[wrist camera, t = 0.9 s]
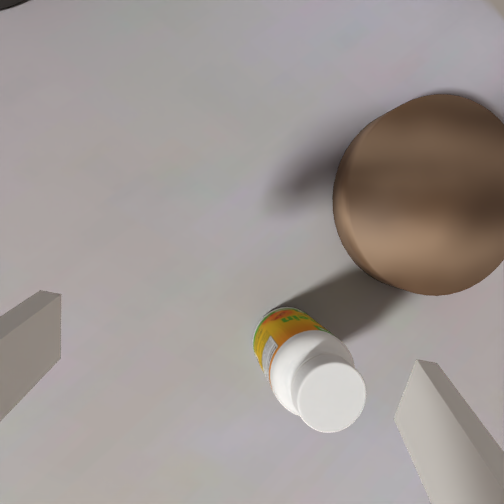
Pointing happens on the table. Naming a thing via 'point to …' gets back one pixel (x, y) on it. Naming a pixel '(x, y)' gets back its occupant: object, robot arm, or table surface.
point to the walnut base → (425, 195)
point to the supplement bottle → (309, 370)
